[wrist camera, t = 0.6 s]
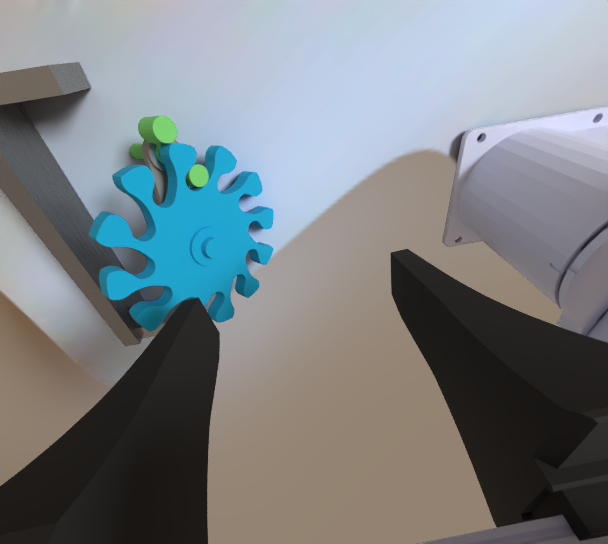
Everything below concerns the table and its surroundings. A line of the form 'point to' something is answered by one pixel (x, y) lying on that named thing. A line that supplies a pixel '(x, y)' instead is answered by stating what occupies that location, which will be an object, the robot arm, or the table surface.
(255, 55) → the table surface
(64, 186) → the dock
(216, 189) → the gear
